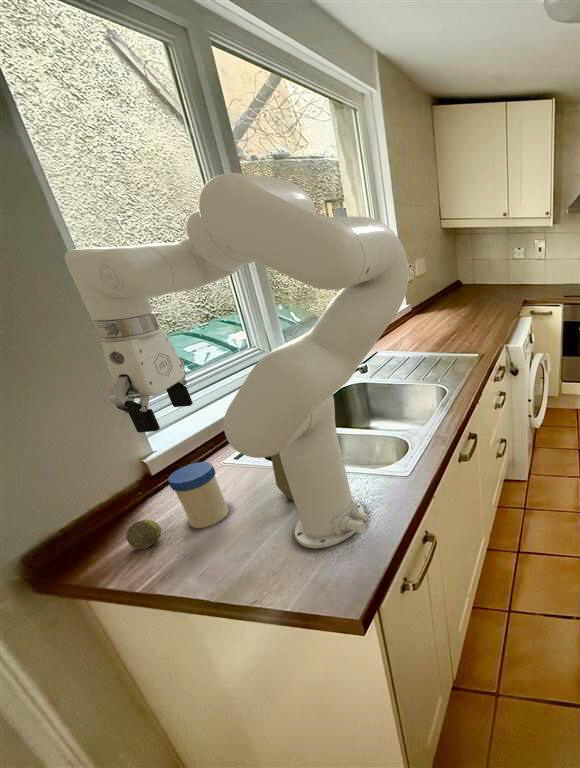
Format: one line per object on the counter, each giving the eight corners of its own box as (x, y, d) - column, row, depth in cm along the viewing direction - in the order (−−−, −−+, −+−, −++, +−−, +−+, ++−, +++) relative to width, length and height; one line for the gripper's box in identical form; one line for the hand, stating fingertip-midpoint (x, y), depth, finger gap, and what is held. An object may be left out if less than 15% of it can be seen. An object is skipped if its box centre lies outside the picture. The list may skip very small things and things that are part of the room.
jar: (236, 509, 82) (219, 467, 78) (205, 531, 76) (185, 487, 72) (214, 503, 84) (197, 462, 80) (183, 524, 78) (162, 480, 74)
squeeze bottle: (305, 505, 82) (282, 431, 75) (272, 501, 84) (246, 428, 76) (329, 482, 89) (310, 412, 82) (298, 478, 91) (277, 410, 84)
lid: (223, 472, 78) (220, 465, 78) (187, 494, 72) (183, 486, 72) (200, 466, 81) (197, 459, 80) (162, 487, 75) (158, 479, 74)
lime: (166, 542, 74) (155, 521, 72) (132, 557, 71) (120, 536, 69) (163, 530, 77) (153, 510, 75) (131, 544, 74) (119, 523, 72)
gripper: (114, 339, 57) (159, 440, 64) (184, 313, 73) (214, 396, 80) (55, 343, 56) (107, 445, 63) (139, 315, 72) (174, 399, 79)
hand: (167, 417), depth 71 cm, fingers open, 9 cm apart
